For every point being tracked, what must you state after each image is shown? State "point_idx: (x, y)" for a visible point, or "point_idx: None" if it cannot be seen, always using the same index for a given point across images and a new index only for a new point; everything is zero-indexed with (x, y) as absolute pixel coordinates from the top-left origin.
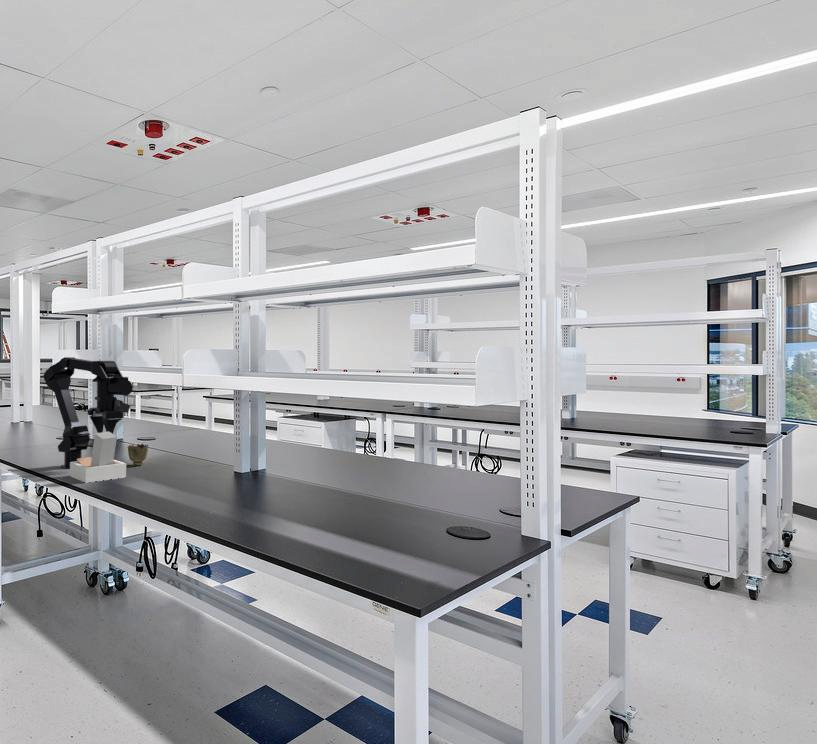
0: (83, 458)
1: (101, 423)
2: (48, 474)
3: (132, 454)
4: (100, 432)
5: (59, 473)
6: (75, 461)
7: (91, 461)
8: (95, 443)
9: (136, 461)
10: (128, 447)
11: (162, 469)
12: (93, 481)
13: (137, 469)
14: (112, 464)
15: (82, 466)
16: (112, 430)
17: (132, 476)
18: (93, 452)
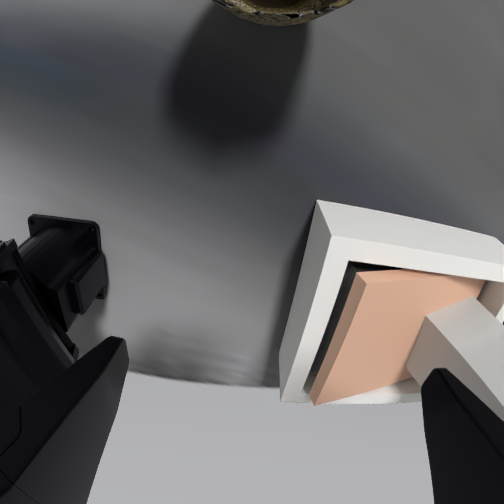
0: (328, 386)
1: (53, 470)
2: (183, 372)
3: (312, 19)
4: (118, 372)
5: (189, 349)
6: (285, 387)
7: (421, 383)
8: None
9: (308, 5)
10: (267, 16)
11: (484, 15)
12: None
13: (397, 71)
14: (487, 312)
15: (415, 399)
16: (489, 428)
17: (501, 207)
18: None
